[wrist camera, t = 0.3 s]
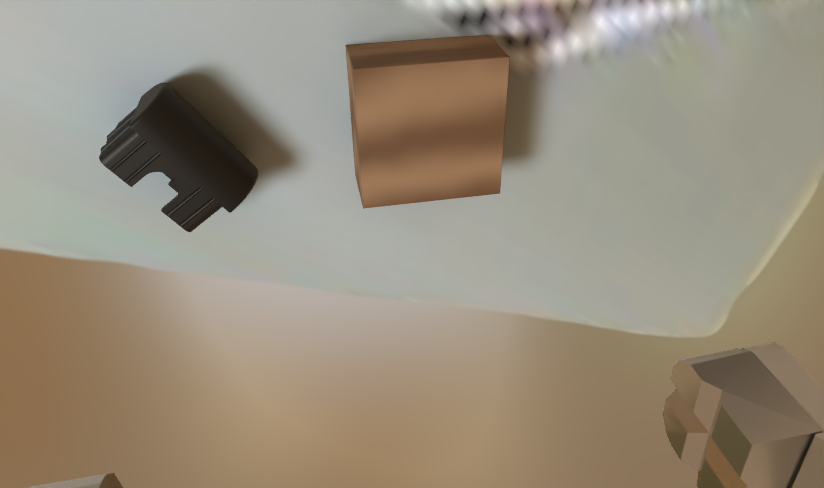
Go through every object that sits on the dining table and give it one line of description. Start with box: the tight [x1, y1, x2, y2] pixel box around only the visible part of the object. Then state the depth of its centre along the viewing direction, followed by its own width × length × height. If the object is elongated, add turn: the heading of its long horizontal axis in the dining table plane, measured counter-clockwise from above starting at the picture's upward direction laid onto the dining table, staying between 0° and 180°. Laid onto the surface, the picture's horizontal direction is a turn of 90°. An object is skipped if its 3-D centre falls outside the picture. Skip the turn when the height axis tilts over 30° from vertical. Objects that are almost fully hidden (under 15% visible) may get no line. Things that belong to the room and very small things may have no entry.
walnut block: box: [346, 35, 510, 208], centre depth 54 cm, size 12×12×6 cm
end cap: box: [99, 83, 258, 232], centre depth 52 cm, size 10×7×7 cm
